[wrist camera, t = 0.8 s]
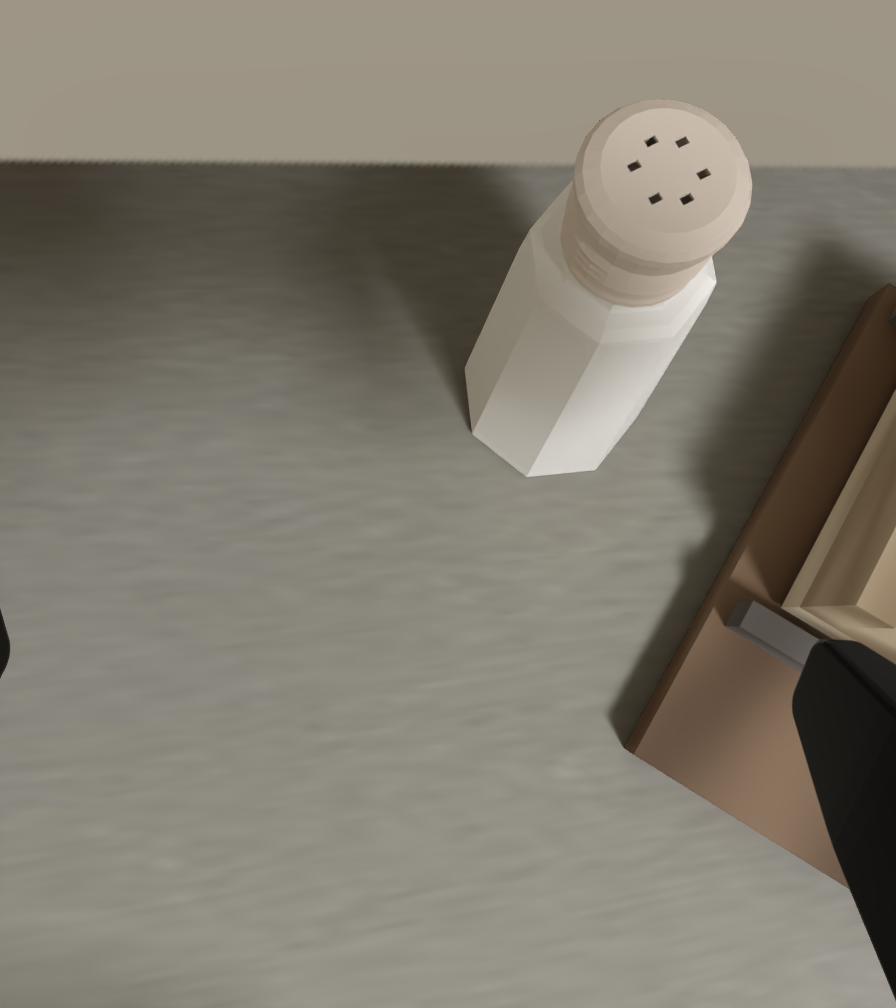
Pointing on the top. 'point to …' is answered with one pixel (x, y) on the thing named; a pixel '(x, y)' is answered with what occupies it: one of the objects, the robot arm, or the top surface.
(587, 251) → the pepper shaker
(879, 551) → the light wooden tray
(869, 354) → the open wooden tray
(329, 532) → the top surface
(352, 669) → the top surface
